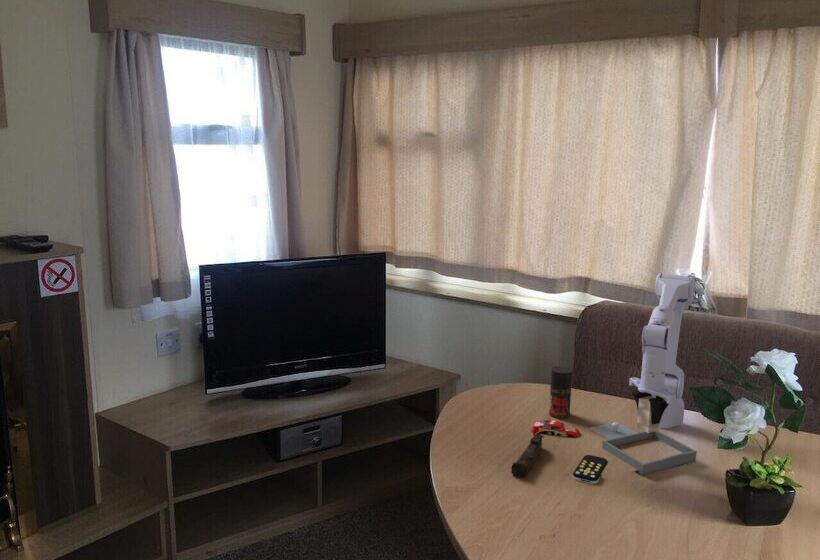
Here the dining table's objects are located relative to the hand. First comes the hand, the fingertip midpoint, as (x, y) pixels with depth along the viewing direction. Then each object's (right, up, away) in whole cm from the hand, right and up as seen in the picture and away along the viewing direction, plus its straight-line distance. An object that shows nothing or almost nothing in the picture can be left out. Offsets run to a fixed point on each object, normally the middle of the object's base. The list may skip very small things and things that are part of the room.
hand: (649, 420), depth 190 cm
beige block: (0, -2, 0) cm, 2 cm away
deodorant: (-18, -4, +25) cm, 32 cm away
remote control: (-17, -12, -6) cm, 22 cm away
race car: (-21, -7, +14) cm, 27 cm away
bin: (0, -10, +2) cm, 10 cm away
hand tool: (-32, -11, -1) cm, 34 cm away
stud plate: (-5, -7, +14) cm, 17 cm away
